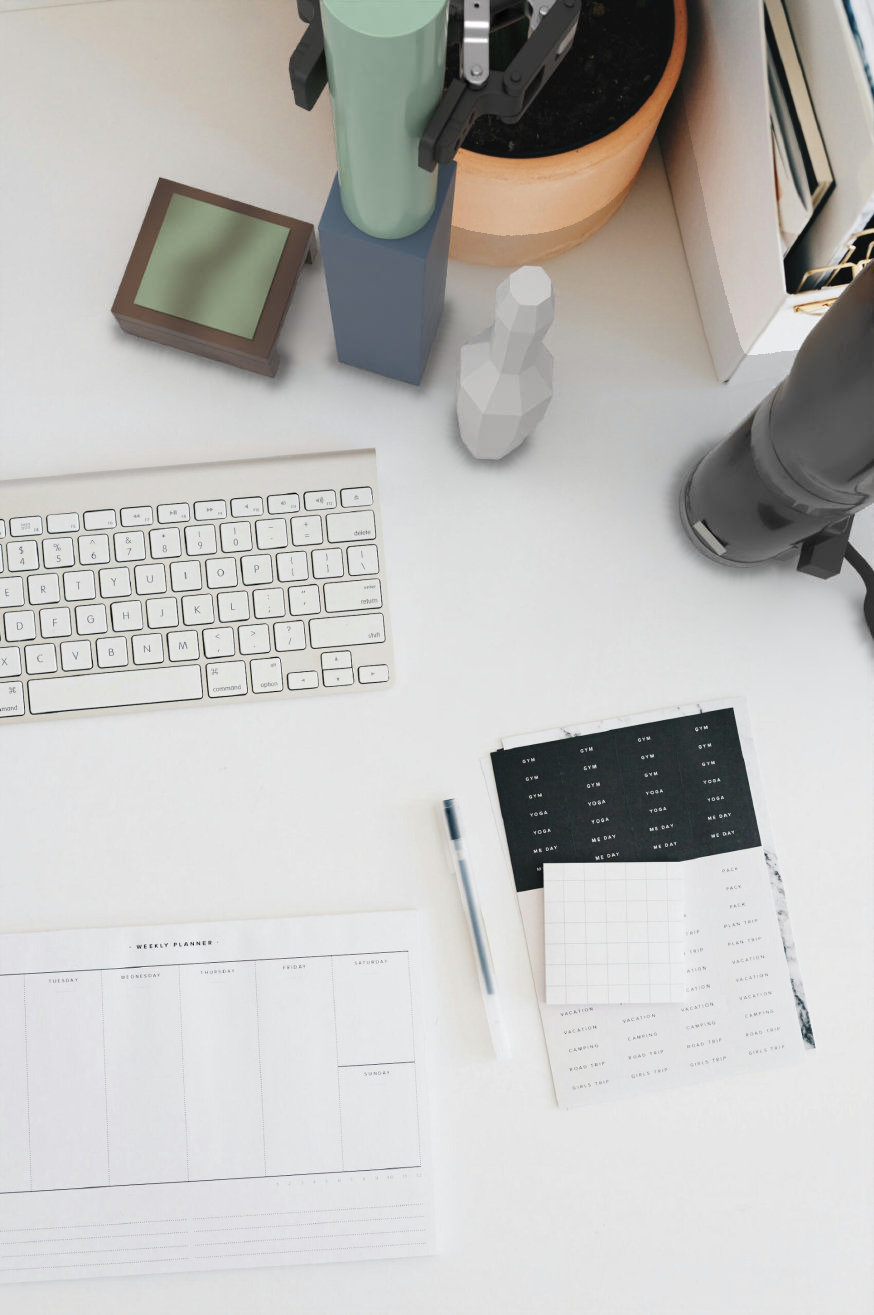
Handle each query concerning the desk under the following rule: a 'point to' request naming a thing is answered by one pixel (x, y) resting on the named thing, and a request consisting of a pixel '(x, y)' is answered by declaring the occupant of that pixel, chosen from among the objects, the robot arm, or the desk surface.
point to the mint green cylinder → (384, 107)
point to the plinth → (387, 286)
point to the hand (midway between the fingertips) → (363, 127)
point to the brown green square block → (213, 276)
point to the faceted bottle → (508, 368)
